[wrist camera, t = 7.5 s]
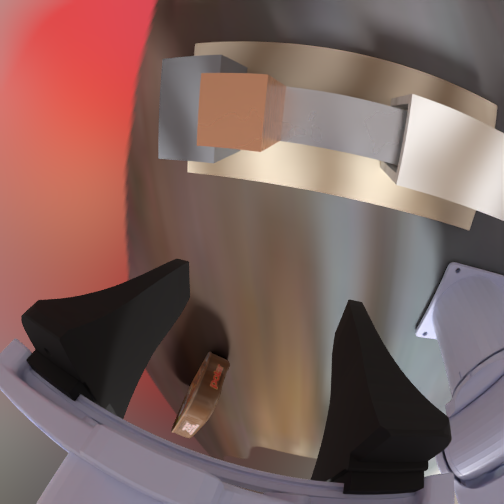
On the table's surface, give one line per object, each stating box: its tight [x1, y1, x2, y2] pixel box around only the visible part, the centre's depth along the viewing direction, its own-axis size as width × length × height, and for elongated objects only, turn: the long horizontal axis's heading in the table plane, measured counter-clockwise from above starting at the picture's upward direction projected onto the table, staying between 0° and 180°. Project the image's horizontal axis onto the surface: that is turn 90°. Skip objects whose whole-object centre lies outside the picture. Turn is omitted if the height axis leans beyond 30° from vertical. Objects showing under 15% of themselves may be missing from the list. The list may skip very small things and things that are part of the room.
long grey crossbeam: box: [197, 73, 407, 165], centre depth 12 cm, size 14×3×8 cm, turn 85°
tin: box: [171, 352, 230, 438], centre depth 29 cm, size 15×3×8 cm, turn 156°
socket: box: [159, 55, 247, 163], centre depth 15 cm, size 4×6×5 cm, turn 175°
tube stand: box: [188, 41, 504, 230], centre depth 14 cm, size 22×10×5 cm, turn 85°
